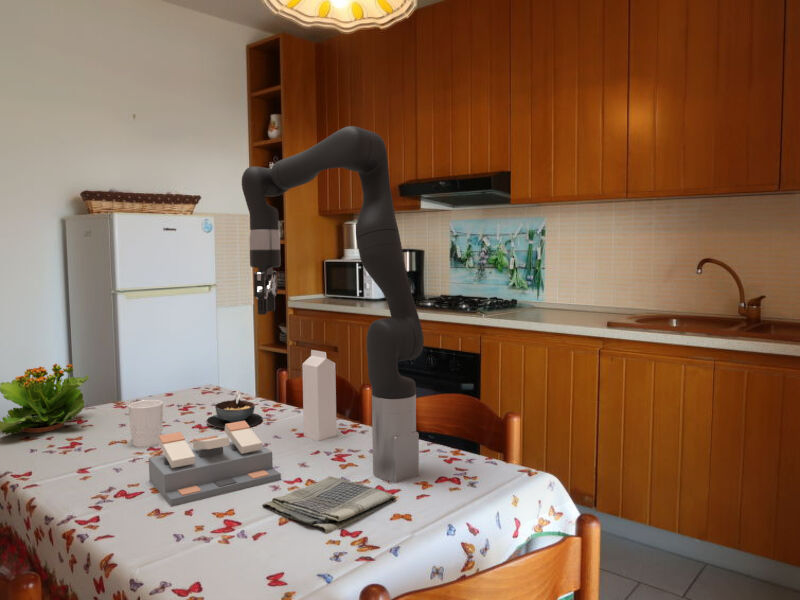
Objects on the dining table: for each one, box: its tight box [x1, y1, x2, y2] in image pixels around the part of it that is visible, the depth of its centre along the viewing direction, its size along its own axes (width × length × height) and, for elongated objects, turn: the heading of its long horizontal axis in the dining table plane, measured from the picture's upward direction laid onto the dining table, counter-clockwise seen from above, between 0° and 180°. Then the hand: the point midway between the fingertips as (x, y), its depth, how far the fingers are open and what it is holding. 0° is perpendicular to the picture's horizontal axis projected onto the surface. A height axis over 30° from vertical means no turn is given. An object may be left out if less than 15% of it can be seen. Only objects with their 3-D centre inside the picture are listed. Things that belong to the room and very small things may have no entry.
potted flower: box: [0, 363, 90, 435], centre depth 166 cm, size 25×24×18 cm
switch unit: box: [148, 441, 282, 507], centre depth 126 cm, size 16×22×6 cm
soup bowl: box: [206, 389, 263, 430], centre depth 169 cm, size 15×16×7 cm
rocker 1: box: [157, 431, 195, 468], centre depth 124 cm, size 10×4×2 cm, turn 36°
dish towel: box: [261, 476, 397, 535], centre depth 114 cm, size 19×18×3 cm
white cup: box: [128, 399, 164, 448], centre depth 152 cm, size 8×8×10 cm
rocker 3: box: [224, 421, 263, 454], centre depth 132 cm, size 10×4×2 cm, turn 36°
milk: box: [301, 349, 337, 441], centre depth 156 cm, size 6×6×22 cm
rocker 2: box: [192, 435, 230, 449], centre depth 128 cm, size 10×4×2 cm, turn 36°
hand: (266, 312), depth 155 cm, fingers open, 8 cm apart
